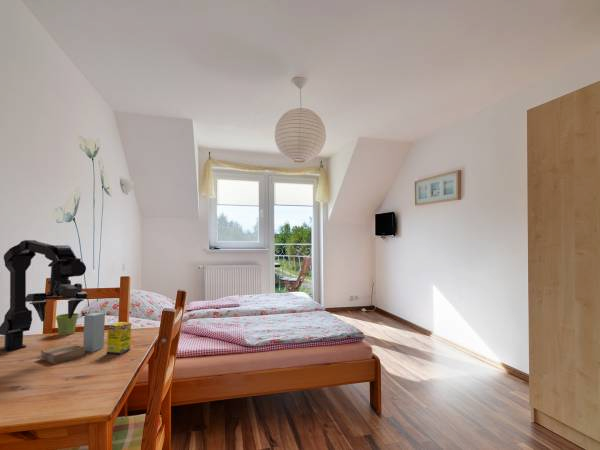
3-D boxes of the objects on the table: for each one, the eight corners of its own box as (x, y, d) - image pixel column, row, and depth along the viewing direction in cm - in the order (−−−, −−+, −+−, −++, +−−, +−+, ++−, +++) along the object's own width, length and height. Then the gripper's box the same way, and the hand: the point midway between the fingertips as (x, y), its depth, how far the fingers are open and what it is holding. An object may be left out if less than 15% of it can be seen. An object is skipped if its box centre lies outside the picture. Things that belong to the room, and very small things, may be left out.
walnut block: (40, 359, 121) (41, 350, 121) (70, 351, 130) (70, 343, 130) (54, 364, 116) (55, 355, 117) (84, 355, 125) (85, 347, 125)
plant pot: (49, 337, 150) (50, 317, 151) (60, 331, 160) (61, 313, 160) (72, 335, 152) (73, 316, 153) (82, 330, 161) (82, 312, 162)
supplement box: (119, 355, 126) (120, 325, 127) (106, 353, 127) (107, 325, 128) (130, 350, 132) (131, 322, 133) (117, 349, 133) (118, 321, 134)
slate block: (83, 350, 131) (84, 314, 132) (94, 346, 136) (95, 312, 137) (92, 351, 130) (93, 315, 130) (103, 348, 134) (104, 313, 135)
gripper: (43, 276, 115) (39, 323, 112) (96, 276, 131) (94, 317, 128) (26, 278, 120) (22, 323, 117) (80, 278, 136) (77, 317, 133)
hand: (56, 320), depth 124 cm, fingers open, 9 cm apart
